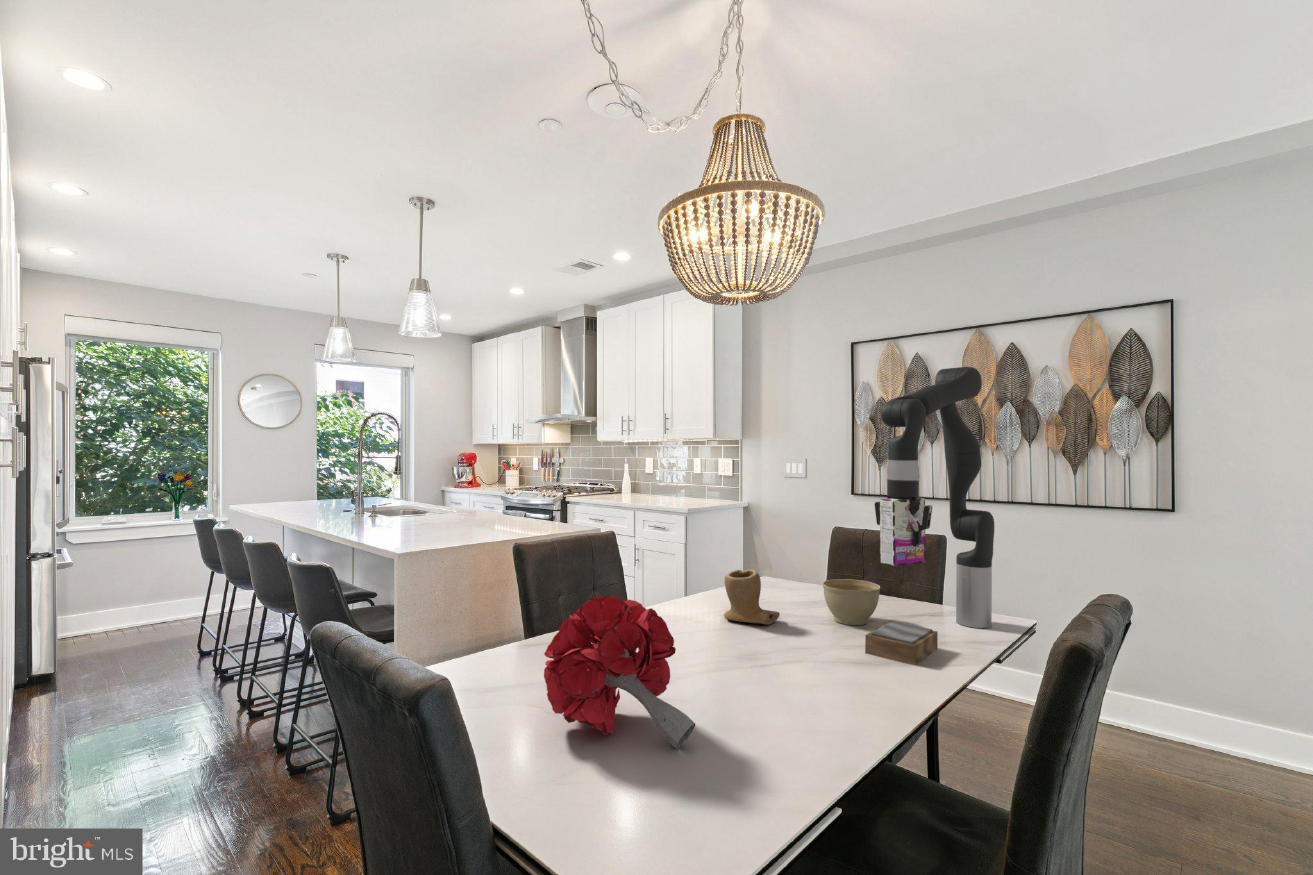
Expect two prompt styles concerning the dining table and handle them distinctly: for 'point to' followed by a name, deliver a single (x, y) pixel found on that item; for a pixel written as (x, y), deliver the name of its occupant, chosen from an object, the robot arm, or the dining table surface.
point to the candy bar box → (899, 533)
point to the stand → (901, 642)
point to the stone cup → (746, 598)
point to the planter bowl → (851, 600)
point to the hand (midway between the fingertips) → (902, 544)
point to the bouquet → (613, 666)
